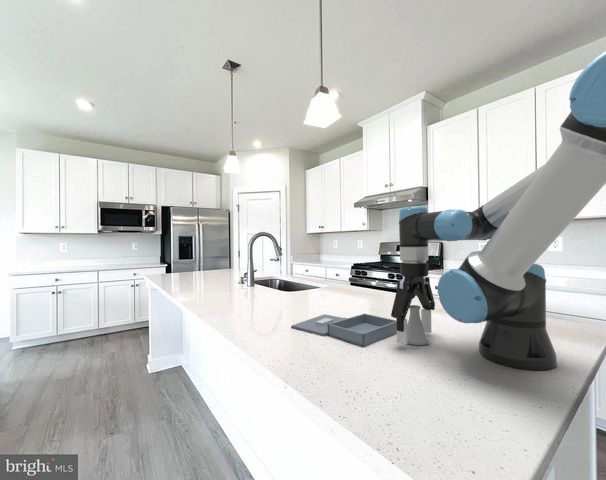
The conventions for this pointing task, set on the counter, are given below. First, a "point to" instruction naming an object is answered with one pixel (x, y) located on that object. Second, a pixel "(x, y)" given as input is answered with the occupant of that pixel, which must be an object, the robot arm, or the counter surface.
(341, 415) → the counter surface
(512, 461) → the counter surface
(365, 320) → the bin
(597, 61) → the robot arm
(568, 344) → the counter surface
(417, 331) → the flask
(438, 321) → the counter surface
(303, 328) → the bin lid
